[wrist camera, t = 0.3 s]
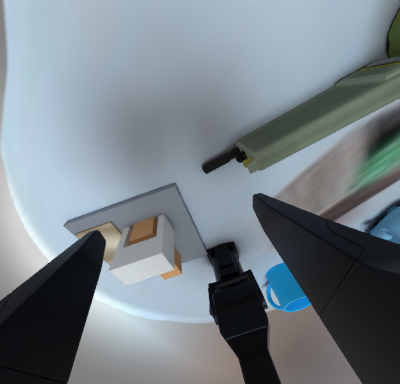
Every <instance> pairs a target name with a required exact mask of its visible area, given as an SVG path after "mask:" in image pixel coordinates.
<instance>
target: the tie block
mask: <svg viewBox="0 0 400 384" xmlns="http://www.w3.org/2000/svg"><path fill="white" fill-rule="evenodd" d="M132 230H133V229H132V228H131V227H130V226H128V227H126V228H124V229H123V232H122V235H121V238H120V240H119V243H118V246H117V249H116V252H115V254H114V257H113V260H112V263H111V265H110V268H109V272H110V273H111V274H113V275H114V276H115V277H116V278H118V279H119V280H120V281H121V282H123V283H124V284H125V285H126V286H127V285H130V284H133V283H136V282H139V281H142V280H145V279H148V278H151V277H154V276H157V275H160V274H163V273H166V272H169V271H172V270H175V267H174V229H173V228H172V226H171V224H170V223H169V221H168V219H167V218H166V216H165V214H163V215H160V216H158V225H157V234H156V237H153V238H151V239H148V240H145V241H142V242H139V243H136V244H132V243H131V242H130V241H129V240H130V236H131V233H132Z"/></svg>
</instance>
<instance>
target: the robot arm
mask: <svg viewBox="0 0 400 384" xmlns="http://www.w3.org/2000/svg"><path fill="white" fill-rule="evenodd" d="M253 209H254V211H255V214H256V216H257V218H258V220H259V222H260V224H261V226H262V228H263V230H264V231H265V233H266V235H267V236H268V238H269V239H270V241H271V243H272V244H273V246H274V247H275V249H276V250H277V252H278V253H279V255H280V256H281V258H282V260H283V261H284V263H285V264H286V266H287V267H288V269H289V270H290V272H291V274H292V275H293V277H294V278H295V280H296V281H297V283H298V284H299V286H300V288H301V289H302V291H303V292H304V294H305V295H306V297H307V298H308V300H309V301H310V303H311V305H312V306H313V308H314V309H315V311H316V312H317V314H318V315H319V316H320V319H321V320H322V322H323V323H324V325H325V327H326V328H327V330H328V331H329V333H330V334H331V336H332V337H333V339H334V340H335V342H336V344H337V345H338V347H339V348H340V350H341V351H342V353H343V354H344V356H345V358H346V359H347V361H348V362H349V364H350V365H351V367H352V368H353V370H354V371H355V373H356V375H357V376H358V377H359V379H360V381H361V382H362V384H400V244H398V243H395V242H392V241H389V240H386V239H383V238H380V237H376V236H373V235H370V234H367V233H364V232H361V231H359V230H356V229H353V228H350V227H347V226H344V225H342V224H339V223H336V222H334V221H331V220H329V219H325V218H323V217H321V216H318V215H316V214H313V213H310V212H308V211H305V210H303V209H300V208H298V207H295V206H292V205H290V204H287V203H285V202H282V201H280V200H277V199H274V198H272V197H269V196H267V195H264V194H262V193H258V194H254V195H253ZM105 247H106V239H105V238H104V237H103V235H102V234H101V232H100V231H99V230H93V231H90V232H88V233H87V234H85V235H84V236H83V237H82V238H80V239H79V240H78V241H76V242H75V243H74V244H73V245H71V246H70V247H69V248H67V249H66V250H65V251H64V252H62V253H61V254H60V255H58V256H57V257H56V258H55V259H53V260H52V261H51V262H50V263H48V264H47V265H46V266H44V267H43V268H42V269H40V270H39V271H38V272H37V273H35V274H34V275H33V276H32V277H30V278H29V279H28V280H26V281H25V282H24V283H23V284H21V285H20V286H19V287H17V288H16V289H15V290H14V291H12V293H10V294H8V295H7V296H6V297H4V298H3V299H2V300H1V301H0V384H67V383H68V380H69V377H70V373H71V370H72V367H73V363H74V360H75V356H76V353H77V350H78V346H79V343H80V340H81V336H82V332H83V329H84V326H85V323H86V319H87V316H88V313H89V309H90V306H91V303H92V299H93V296H94V293H95V289H96V286H97V282H98V279H99V276H100V272H101V268H102V263H103V258H104V253H105ZM207 254H208V255H207V256H208V258H209V260H210V262H211V264H212V266H213V269H214V273H215V277H216V281H217V282H214V283H210V284H208V285H209V288H208V292H209V301H210V308H209V312H210V315H211V316H212V317H213V318H214V320H215V323H216V325H219V329H220V333H221V335H222V336H223V338H224V339H225V341H226V342H227V343H228V345H229V346H230V347H231V349H232V350H233V351H234V353H235V354H236V356H237V357H238V359H239V362H240V366H241V369H242V374H243V378H244V381H245V384H281V381H280V379H279V376H278V374H277V371H276V369H275V366H274V363H273V361H272V358H271V355H270V351H269V350H270V325H269V321H268V317H267V314H266V312H265V310H264V309H267V308H268V306H267V304H266V301H265V299H264V296H263V294H262V292H261V290H260V288H259V285H258V283H257V281H256V279H255V277H254V275H253V273H252V271H251V269H250V270H248V271H245V272H244V271H243V269H242V267H241V264H240V262H239V256H238V252H237V249H236V245H235V243H234V242H231V243H228V244H225V245H222V246H219V247H216V248H213V249H210V250H207Z"/></svg>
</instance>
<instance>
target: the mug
mask: <svg viewBox="0 0 400 384" xmlns="http://www.w3.org/2000/svg"><path fill="white" fill-rule="evenodd" d="M266 278H267V280H268V282H269V284H268V286H267V291H266V293H267V298H268V301H269V303H270V304H271V305H272V306H273V307H274V308H276V309H278V310H284V311H285V312H294V311H298V310H301V309H303V308H306V307H308V306H309V305H311V303H310V301H309V300H308V298H307V297H306V295H305V294H304V292H303V291H302V289H301V288H300V286H299V284H298V283H297V281H296V280H295V278H294V277H293V275H292V274H291V272H290V270H289V269H288V267H287V266H286V264H285V263H282V264H279V265H276V266H274V267H272V268H271V269H270V270H269V271H268V272H267V274H266ZM271 287H272V289H273V291H274V293H275V295H276V297H277V299H278V301H279V303H280V305H281V306H278V305H276V304H275V303H274V302H273V301H272V298H271V294H270V290H271Z"/></svg>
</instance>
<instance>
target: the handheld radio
mask: <svg viewBox="0 0 400 384" xmlns="http://www.w3.org/2000/svg"><path fill="white" fill-rule="evenodd" d="M399 98H400V56H398V57H393V58H388V59H384V60H379V61H374V62H372V63H370V64H369V65H367V66H365V67H363V68H362V69H360V70H358V71H356V72H355V73H353V74H351V75H349V76H347V77H346V78H344V79H342V80H341V81H339V82H338V83H337V84H336V85H335V86H333V87H331V88H329V89H327V90H326V91H324V92H322V93H320V94H319V95H317V96H315V97H313V98H311V99H310V100H308V101H306V102H304V103H303V104H301V105H299V106H297V107H296V108H294V109H292V110H290V111H288V112H287V113H285V114H283V115H281V116H280V117H278V118H276V119H274V120H273V121H271V122H269V123H267V124H265V125H264V126H262V127H260V128H258V129H257V130H255V131H253V132H251V133H249V134H248V135H246V136H244V137H242V138H241V139H239V140H237V141H236V143H235V145H236V148H234V149H232V151H230V152H228V153H225V154H223V155H222V156H220V157H218V158H216V159H214V160H213V161H211V162H209V163H207V164H205V165H204V166H202V168H203V171H204V172H205V173H206V174H208V173H209V172H211V171H213V170H215V169H217V168H219V167H220V166H222V165H224V164H226V163H228V162H230V160H232V159H234V158H236V161H237V162H239V163H242V162H243V165H244V166H245V167H246V168H247V167H248V169H249V172H250V173H253V172H255V171H258V170H259V171H261V170H263V169H265V168H267V167H269V166H271V165H273V164H275V163H277V162H279V161H281V160H283V159H285V158H286V157H288V156H290V155H292V154H294V153H296V152H298V151H300V150H302V149H304V148H306V147H307V146H309V145H311V144H313V143H315V142H317V141H319V140H321V139H323V138H325V137H327V136H328V135H330V134H332V133H334V132H336V131H338V130H340V129H342V128H344V127H346V126H348V125H349V124H351V123H353V122H355V121H357V120H359V119H361V118H363V117H365V116H367V115H369V114H370V113H372V112H374V111H376V110H378V109H380V108H382V107H384V106H386V105H388V104H390V103H391V102H393V101H395V100H397V99H399Z"/></svg>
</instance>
